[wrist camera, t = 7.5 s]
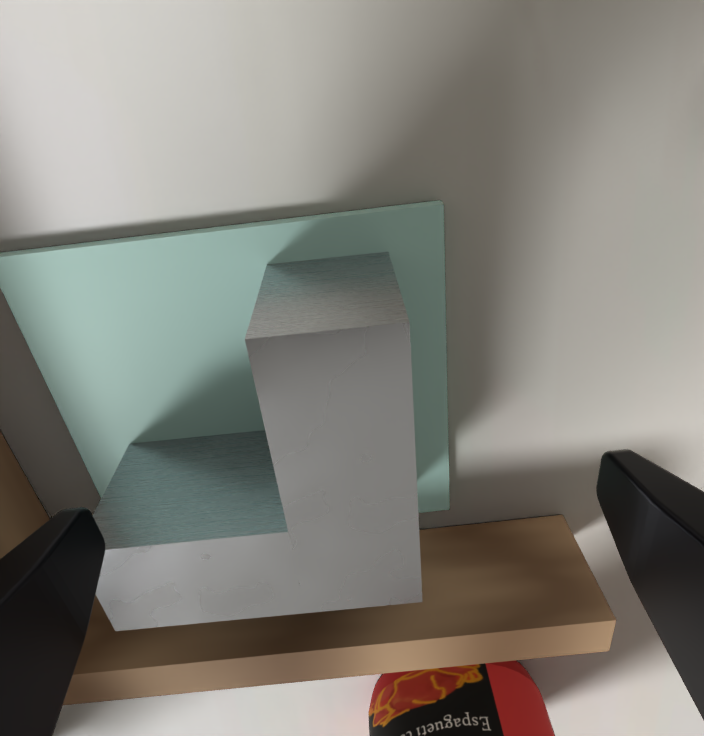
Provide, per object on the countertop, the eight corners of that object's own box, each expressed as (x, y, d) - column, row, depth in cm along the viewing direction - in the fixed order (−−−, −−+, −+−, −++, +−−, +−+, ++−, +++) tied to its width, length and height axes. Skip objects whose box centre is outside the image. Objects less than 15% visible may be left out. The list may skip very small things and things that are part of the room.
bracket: (403, 491, 17) (422, 602, 14) (158, 516, 17) (115, 631, 14) (388, 251, 13) (409, 321, 10) (66, 285, 13) (-27, 367, 10)
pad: (126, 534, 18) (123, 544, 18) (-5, 253, 13) (-14, 258, 13) (447, 500, 18) (449, 509, 18) (440, 199, 13) (443, 204, 12)
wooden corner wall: (50, 597, 20) (-9, 713, 16) (-236, 141, 12) (-475, 177, 8) (558, 545, 19) (608, 652, 16) (626, 32, 11) (758, 23, 8)
